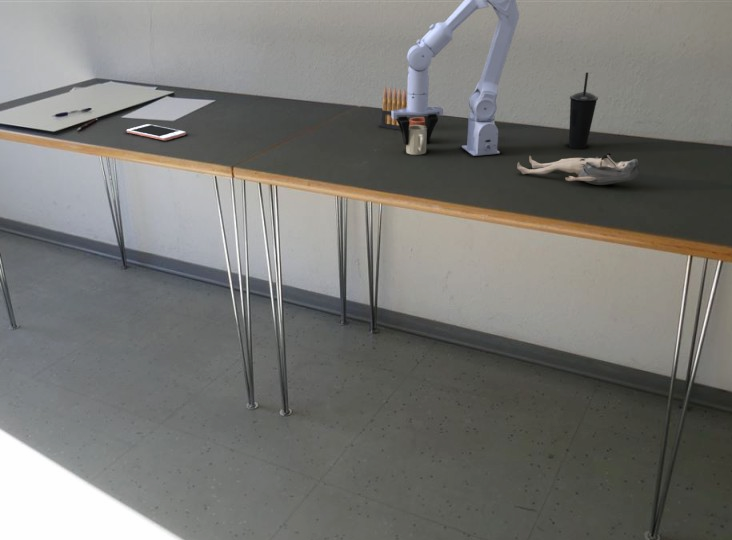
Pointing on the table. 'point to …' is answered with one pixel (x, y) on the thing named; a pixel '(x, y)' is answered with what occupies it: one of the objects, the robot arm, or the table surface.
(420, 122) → the terracotta cup
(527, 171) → the anime figure
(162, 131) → the cell phone
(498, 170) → the table surface
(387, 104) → the ammunition clip
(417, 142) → the cream cup
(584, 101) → the drinking cup
